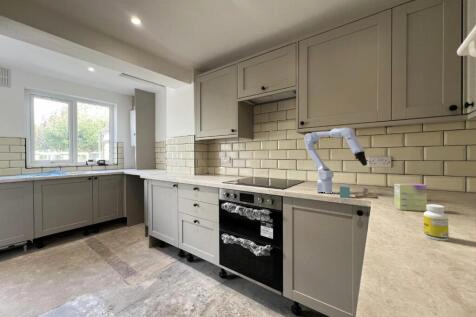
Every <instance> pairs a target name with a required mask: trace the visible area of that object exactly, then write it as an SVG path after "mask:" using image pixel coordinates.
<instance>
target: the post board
mask: <svg viewBox="0 0 476 317" xmlns="http://www.w3.org/2000/svg"><path fill="white" fill-rule="evenodd" d="M354 196H355V198H363V199H375V200H376V199H378V197H377V194H376V193H369V187H362V192H360V193H359V192H355V195H354Z"/></svg>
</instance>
